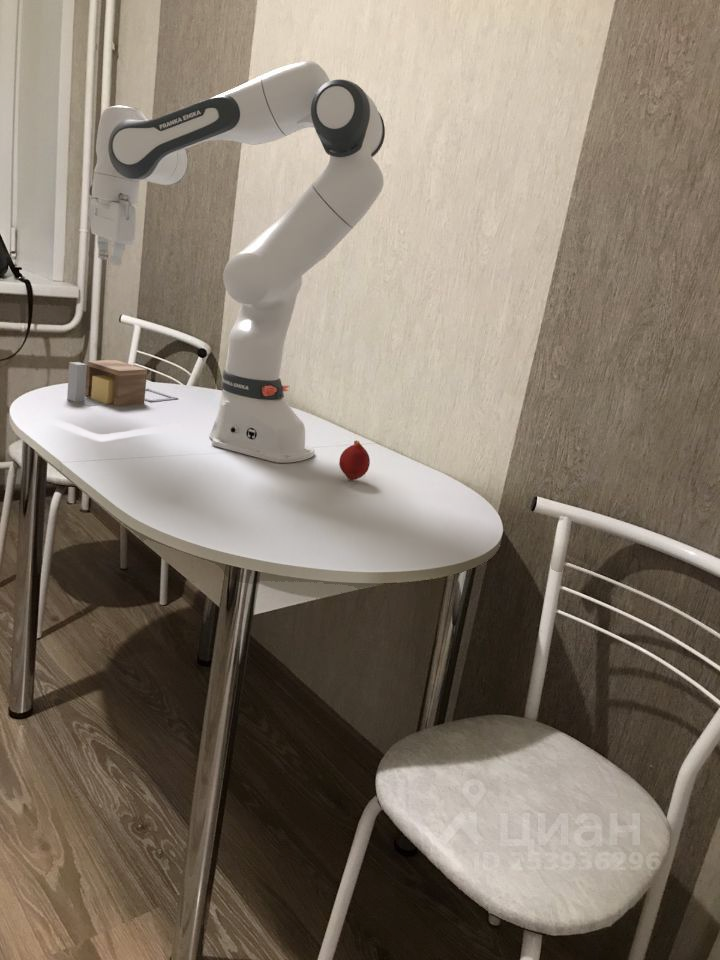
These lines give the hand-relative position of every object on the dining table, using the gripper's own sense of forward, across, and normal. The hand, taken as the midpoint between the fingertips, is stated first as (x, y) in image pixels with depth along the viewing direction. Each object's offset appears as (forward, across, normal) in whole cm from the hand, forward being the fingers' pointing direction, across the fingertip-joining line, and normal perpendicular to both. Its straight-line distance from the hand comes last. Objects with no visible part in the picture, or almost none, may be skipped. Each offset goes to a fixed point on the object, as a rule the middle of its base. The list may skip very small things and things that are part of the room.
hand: (109, 262), depth 155 cm
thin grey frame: (+31, +5, -14) cm, 34 cm away
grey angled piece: (+31, -1, -2) cm, 31 cm away
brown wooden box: (+31, 0, -4) cm, 31 cm away
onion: (+30, -53, -34) cm, 70 cm away
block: (+30, -1, -2) cm, 30 cm away
